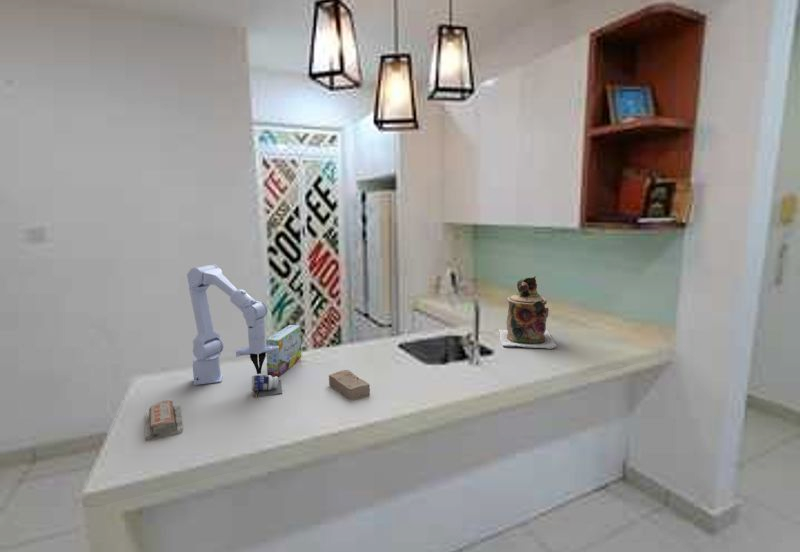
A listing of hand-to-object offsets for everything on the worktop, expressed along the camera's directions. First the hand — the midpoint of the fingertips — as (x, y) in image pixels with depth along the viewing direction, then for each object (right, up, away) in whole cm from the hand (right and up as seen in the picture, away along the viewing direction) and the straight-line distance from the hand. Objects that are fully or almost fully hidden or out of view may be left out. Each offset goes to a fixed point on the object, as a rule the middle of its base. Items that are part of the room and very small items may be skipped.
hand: (259, 372), depth 162 cm
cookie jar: (+111, +4, +55) cm, 124 cm away
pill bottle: (-2, -3, -2) cm, 4 cm away
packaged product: (-22, -11, -23) cm, 34 cm away
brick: (+32, -7, +1) cm, 33 cm away
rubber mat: (+3, -6, +2) cm, 7 cm away
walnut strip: (-1, -6, +1) cm, 7 cm away
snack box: (+4, -3, +23) cm, 23 cm away
